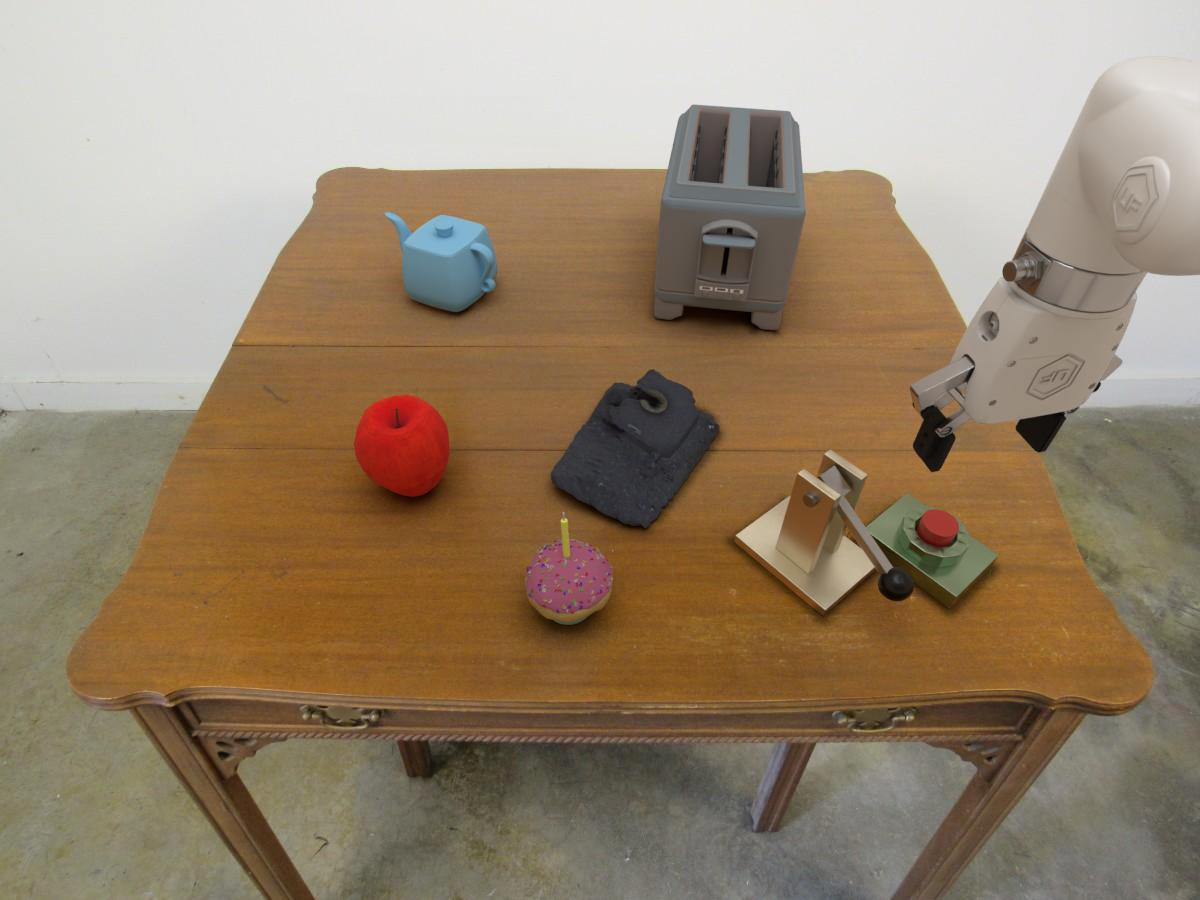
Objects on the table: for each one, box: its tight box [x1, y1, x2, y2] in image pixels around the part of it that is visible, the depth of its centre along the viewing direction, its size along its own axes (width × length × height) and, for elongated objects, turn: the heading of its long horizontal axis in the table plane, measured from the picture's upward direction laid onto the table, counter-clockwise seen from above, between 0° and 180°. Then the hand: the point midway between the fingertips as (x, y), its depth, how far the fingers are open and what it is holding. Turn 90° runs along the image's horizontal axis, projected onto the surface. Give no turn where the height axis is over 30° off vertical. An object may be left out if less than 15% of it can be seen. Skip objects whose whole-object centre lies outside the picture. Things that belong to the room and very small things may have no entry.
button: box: [917, 508, 959, 547], centre depth 76 cm, size 4×4×2 cm
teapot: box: [384, 211, 498, 313], centre depth 109 cm, size 12×18×12 cm
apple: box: [353, 394, 451, 498], centre depth 80 cm, size 10×10×12 cm
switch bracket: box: [733, 448, 877, 617], centre depth 74 cm, size 12×9×13 cm
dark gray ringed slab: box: [550, 368, 720, 529], centre depth 87 cm, size 15×22×5 cm
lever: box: [814, 466, 915, 602], centre depth 70 cm, size 14×3×3 cm, turn 39°
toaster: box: [653, 104, 807, 331], centre depth 109 cm, size 19×33×20 cm, turn 171°
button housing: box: [865, 492, 1000, 609], centre depth 77 cm, size 11×8×4 cm
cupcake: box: [524, 511, 614, 626], centre depth 70 cm, size 9×8×12 cm
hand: (977, 449), depth 61 cm, fingers open, 9 cm apart
